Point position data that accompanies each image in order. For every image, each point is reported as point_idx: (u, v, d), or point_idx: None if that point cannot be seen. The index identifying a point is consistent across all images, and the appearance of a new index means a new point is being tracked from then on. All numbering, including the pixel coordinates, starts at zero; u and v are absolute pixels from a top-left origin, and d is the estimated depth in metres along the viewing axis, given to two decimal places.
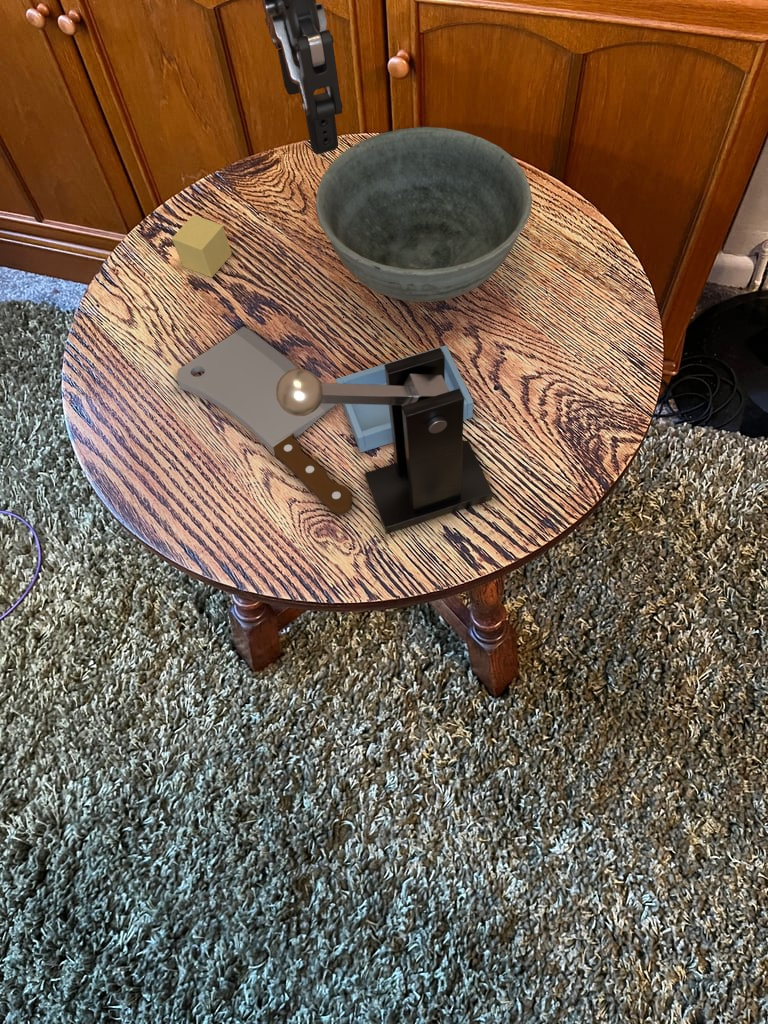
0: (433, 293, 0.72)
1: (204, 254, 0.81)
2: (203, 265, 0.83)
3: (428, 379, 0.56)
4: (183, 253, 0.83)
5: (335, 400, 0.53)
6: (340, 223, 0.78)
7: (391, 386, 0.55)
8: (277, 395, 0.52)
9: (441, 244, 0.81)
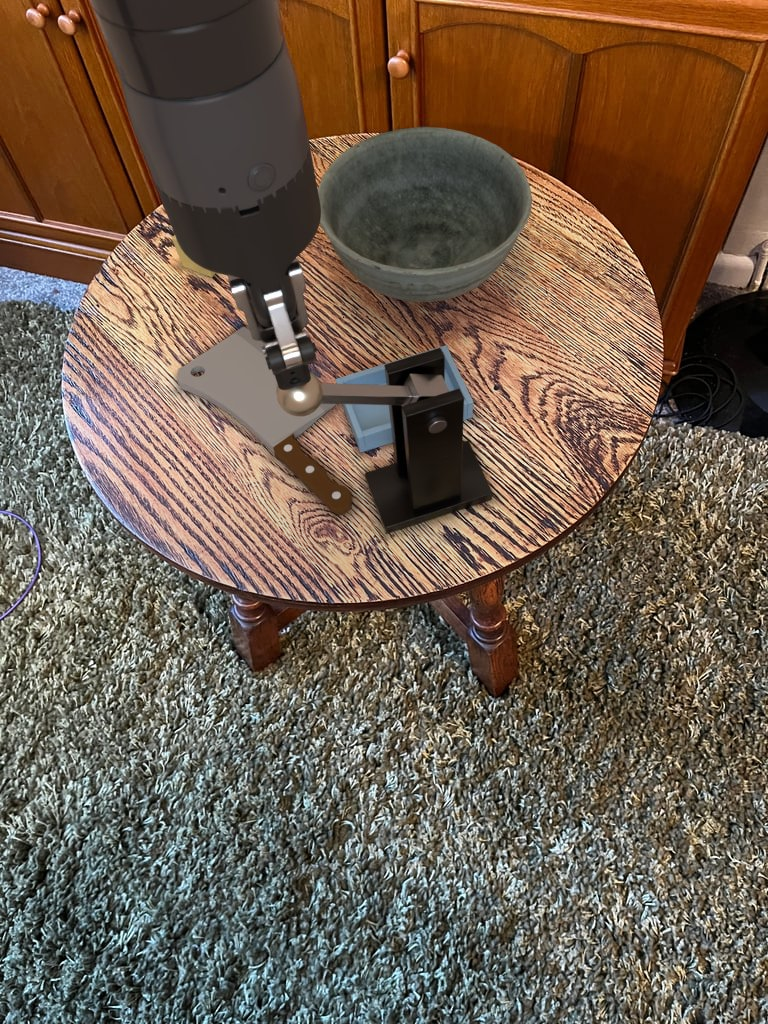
0: (433, 293, 0.72)
1: None
2: None
3: (428, 379, 0.56)
4: (183, 253, 0.83)
5: (335, 400, 0.53)
6: (340, 223, 0.78)
7: (391, 386, 0.55)
8: (277, 395, 0.52)
9: (441, 244, 0.81)
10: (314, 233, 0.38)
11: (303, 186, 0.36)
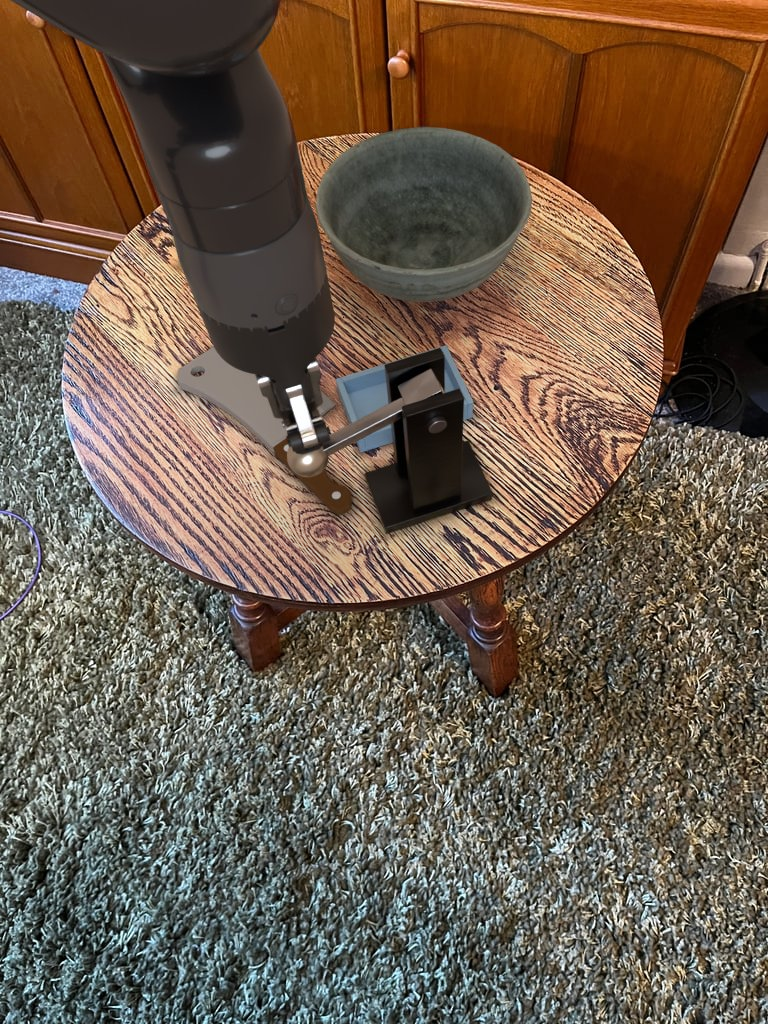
0: (433, 293, 0.72)
1: None
2: None
3: (416, 382, 0.56)
4: None
5: (339, 447, 0.58)
6: (340, 223, 0.78)
7: (385, 406, 0.57)
8: None
9: (441, 244, 0.81)
10: (329, 338, 0.45)
11: (321, 305, 0.42)
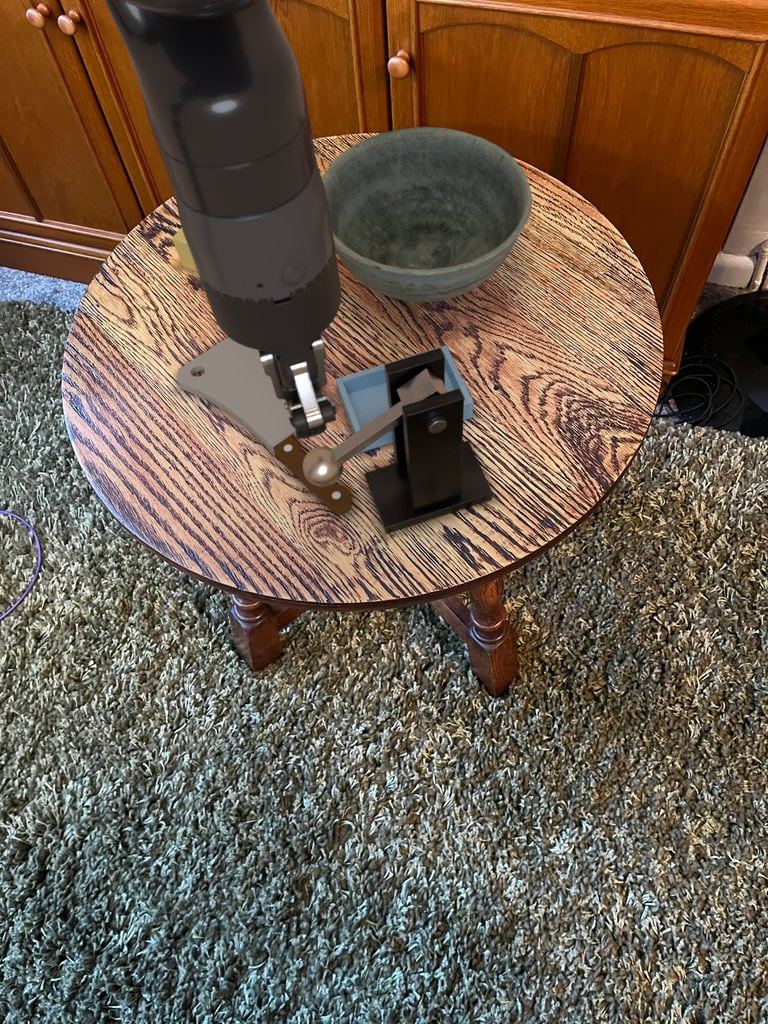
0: (433, 293, 0.72)
1: None
2: None
3: (413, 384, 0.56)
4: (183, 253, 0.83)
5: (350, 455, 0.60)
6: (340, 223, 0.78)
7: (388, 411, 0.58)
8: None
9: (441, 244, 0.81)
10: (336, 313, 0.44)
11: (328, 277, 0.41)
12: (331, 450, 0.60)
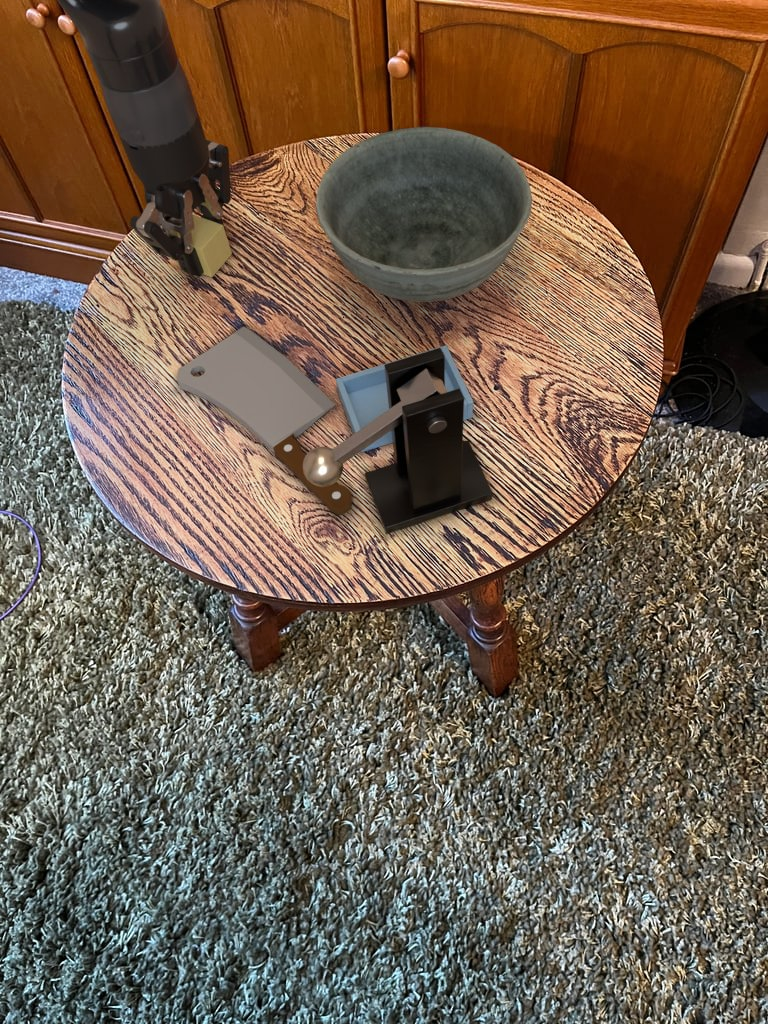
0: (433, 293, 0.72)
1: (204, 254, 0.81)
2: (203, 265, 0.83)
3: (413, 384, 0.56)
4: None
5: (350, 455, 0.60)
6: (340, 223, 0.78)
7: (388, 411, 0.58)
8: None
9: (441, 244, 0.81)
10: (179, 179, 0.72)
11: (167, 152, 0.69)
12: (331, 450, 0.60)
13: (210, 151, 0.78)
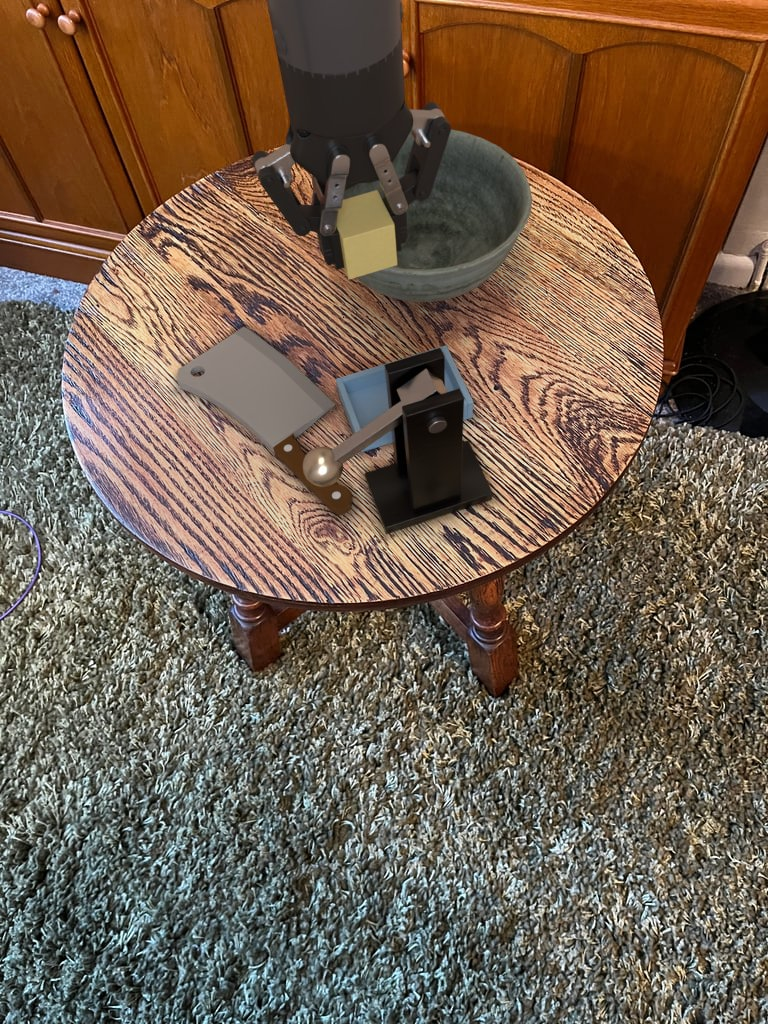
0: (433, 293, 0.72)
1: (346, 247, 0.56)
2: (343, 259, 0.58)
3: (413, 384, 0.56)
4: None
5: (350, 455, 0.60)
6: None
7: (388, 411, 0.58)
8: None
9: (441, 244, 0.81)
10: (322, 133, 0.47)
11: (312, 88, 0.45)
12: (331, 450, 0.60)
13: (422, 120, 0.51)
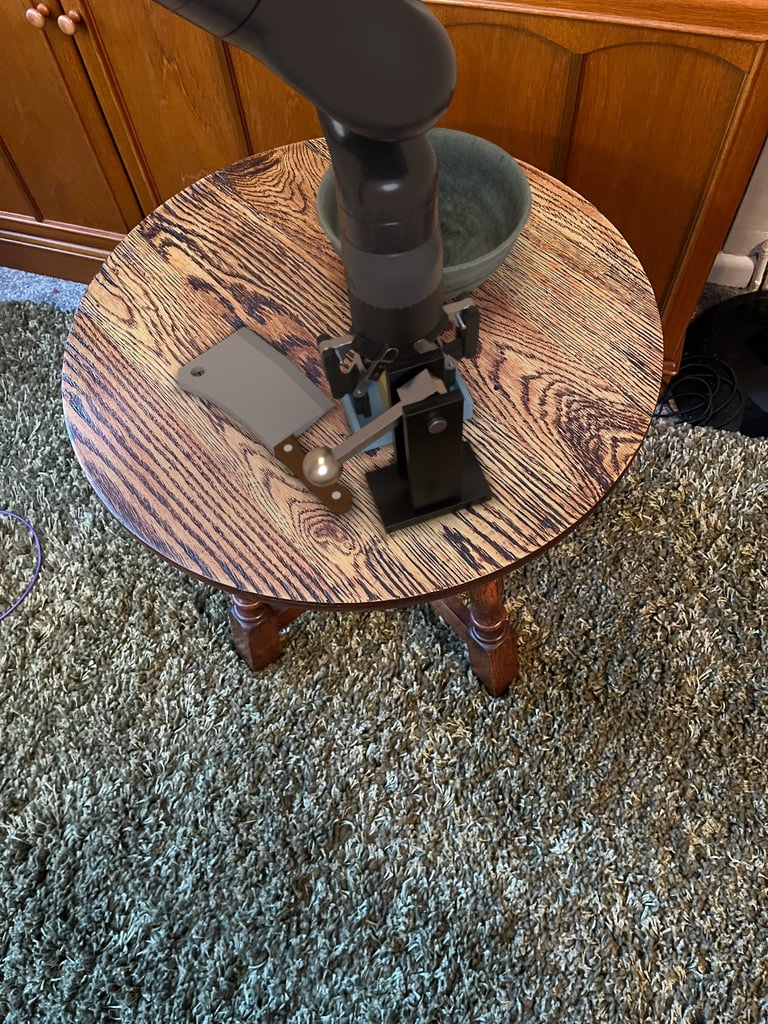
0: None
1: None
2: (388, 409, 0.71)
3: (413, 384, 0.56)
4: (380, 386, 0.72)
5: (350, 455, 0.60)
6: None
7: (388, 411, 0.58)
8: None
9: None
10: (379, 340, 0.60)
11: (374, 314, 0.58)
12: (331, 450, 0.60)
13: (456, 312, 0.64)
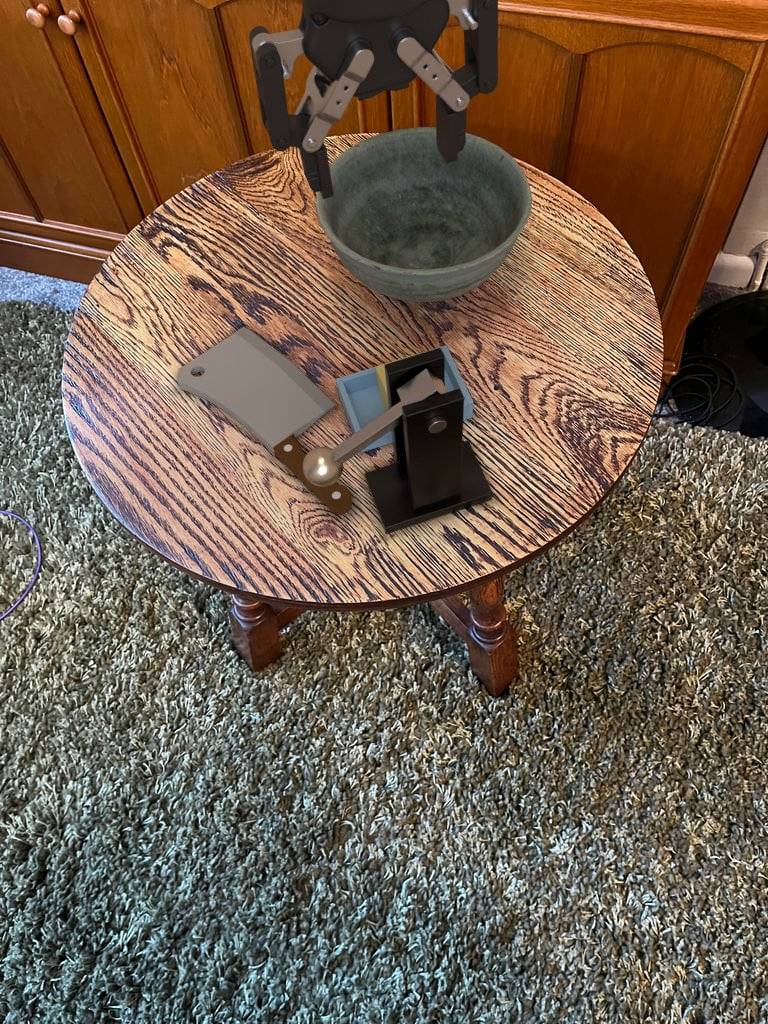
0: (433, 293, 0.72)
1: None
2: (388, 409, 0.71)
3: (413, 384, 0.56)
4: (380, 386, 0.72)
5: (350, 455, 0.60)
6: (340, 223, 0.78)
7: (388, 411, 0.58)
8: None
9: (441, 244, 0.81)
10: (342, 16, 0.39)
11: None
12: (331, 450, 0.60)
13: None
